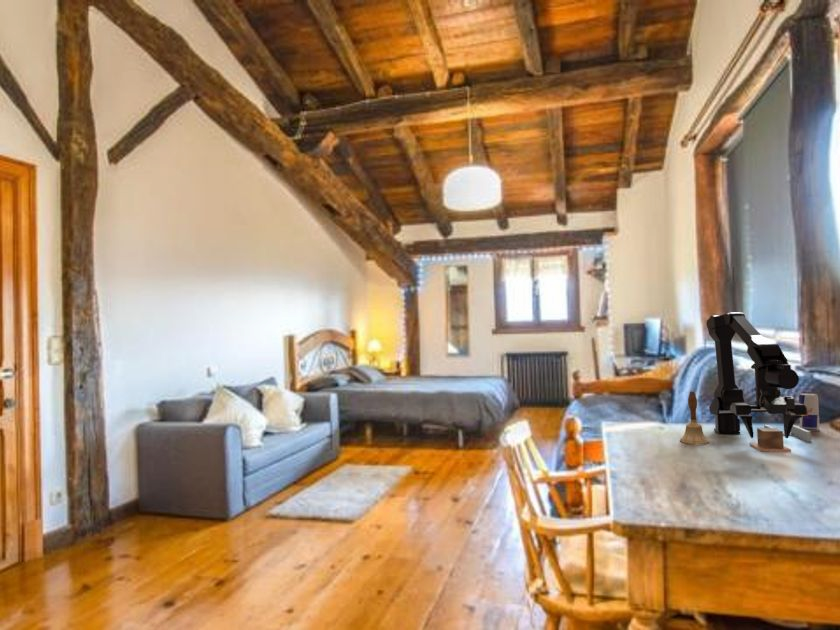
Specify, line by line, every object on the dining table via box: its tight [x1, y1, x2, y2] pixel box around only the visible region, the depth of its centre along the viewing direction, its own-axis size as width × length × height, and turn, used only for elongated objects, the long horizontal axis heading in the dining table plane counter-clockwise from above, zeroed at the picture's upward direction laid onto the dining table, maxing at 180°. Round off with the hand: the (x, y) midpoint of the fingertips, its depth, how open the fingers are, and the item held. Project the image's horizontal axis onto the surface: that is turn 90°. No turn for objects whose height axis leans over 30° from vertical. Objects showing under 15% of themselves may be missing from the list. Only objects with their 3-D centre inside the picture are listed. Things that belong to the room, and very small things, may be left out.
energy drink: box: [798, 392, 820, 432], centre depth 183 cm, size 5×5×12 cm
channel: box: [763, 424, 812, 443], centre depth 173 cm, size 9×11×3 cm
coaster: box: [749, 442, 792, 453], centre depth 161 cm, size 8×8×1 cm
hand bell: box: [679, 390, 710, 445], centre depth 173 cm, size 8×8×16 cm
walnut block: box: [756, 427, 785, 449], centre depth 160 cm, size 5×5×5 cm
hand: (769, 437), depth 161 cm, fingers open, 9 cm apart
